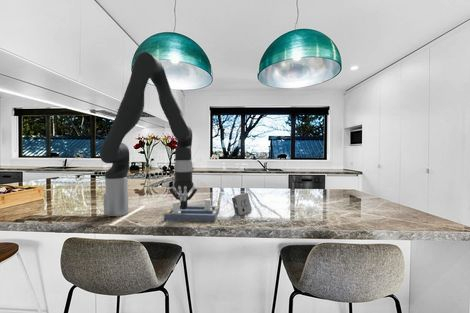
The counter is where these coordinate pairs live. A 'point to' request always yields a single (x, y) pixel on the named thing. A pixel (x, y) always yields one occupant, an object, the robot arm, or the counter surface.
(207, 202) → the tab
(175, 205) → the tab
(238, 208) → the electrical switch
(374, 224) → the counter surface
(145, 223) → the counter surface
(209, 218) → the blue-grey compartment tray
